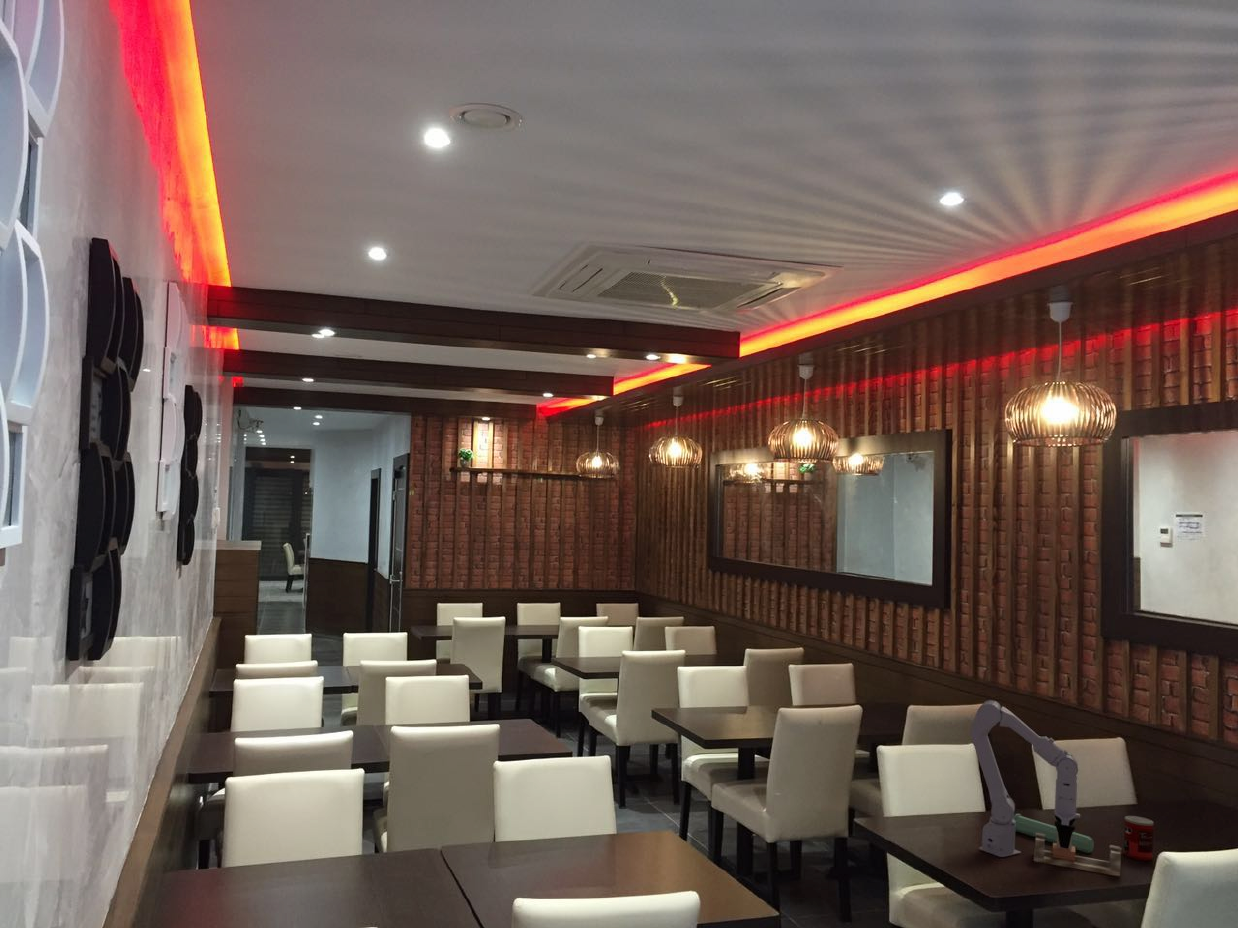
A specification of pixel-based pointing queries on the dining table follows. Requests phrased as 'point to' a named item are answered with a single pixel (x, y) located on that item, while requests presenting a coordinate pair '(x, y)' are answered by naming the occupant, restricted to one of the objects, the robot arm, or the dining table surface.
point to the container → (1051, 833)
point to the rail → (1079, 859)
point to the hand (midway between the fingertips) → (1064, 844)
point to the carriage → (1063, 850)
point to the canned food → (1138, 837)
